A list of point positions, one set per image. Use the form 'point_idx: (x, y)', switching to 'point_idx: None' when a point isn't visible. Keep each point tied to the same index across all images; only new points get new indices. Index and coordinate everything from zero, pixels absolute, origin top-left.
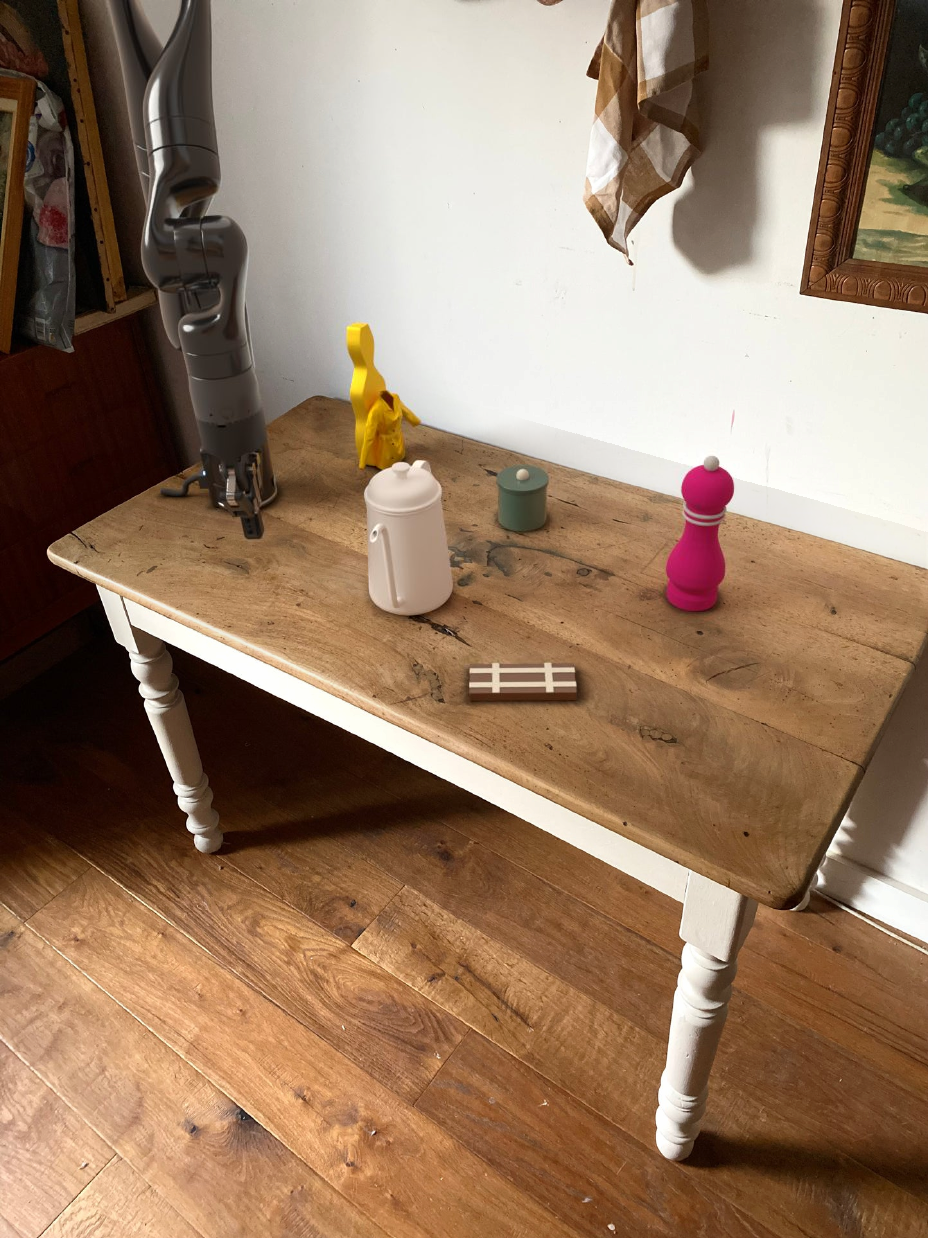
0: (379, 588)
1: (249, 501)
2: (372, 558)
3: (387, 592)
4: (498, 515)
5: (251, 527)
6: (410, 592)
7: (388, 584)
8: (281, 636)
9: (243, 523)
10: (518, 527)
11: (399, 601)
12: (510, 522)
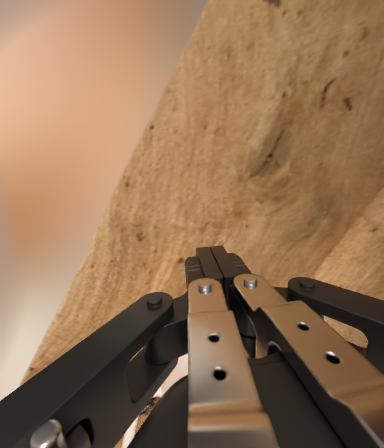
0: (171, 380)
1: (240, 319)
2: None
3: (165, 387)
4: None
5: (187, 288)
6: None
7: (123, 442)
8: (115, 256)
9: (187, 278)
10: None
11: (152, 397)
12: None
